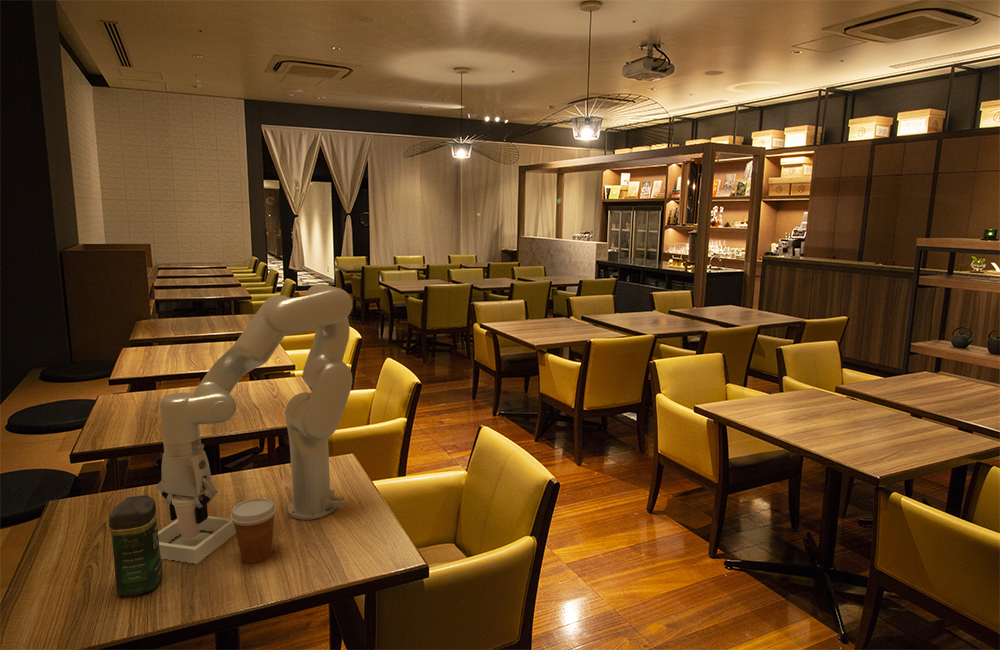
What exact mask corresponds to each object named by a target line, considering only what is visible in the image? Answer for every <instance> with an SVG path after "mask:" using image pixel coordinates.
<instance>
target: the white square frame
mask: <svg viewBox="0 0 1000 650" xmlns="http://www.w3.org/2000/svg"><path fill="white" fill-rule="evenodd" d="M203 530H205V532H211V531H213V532H212V533H211V534H210V536H209V537H207V538H206V539H205V540H203V541H202V542H201V543H199V544H198V545H197V546H195V547H192V546H184V545H177V544H172V543H170V542H171V541H172V539H173V540H174V539H176V538H177V537H178V536H180V535H181V531H180V527H179V523H178V519H175V520H174V521H172V522H171V523H169V524H168V525H166V526H165V527H163V528H161V529H160V530H158V538H159V547H160V555H161V560H164V559H168V560H167V561H171V560H175V561H174V562H178V561H180V563H185V562H187V563H186V564H192V563H194V564H193V565H198V564H199V563H201V562H202V561H203V560H204V559H205V558H207V557H208V556H209V555H211V553H213V552H214V551H215V550H217V549H218V548H219V547H220V546H222V545H224V543H226V542H227V541H228V540H229V539H231V538H232V537H233V536H234V535H236V530H235V526H234V522H233V521H232V519H231V518H229V517H221V516H220V517H219V516H212V515H211V516H210V515H208V518H207V519H206V520H204V521H203V522H202V523H200V529H199V531H203ZM179 534H180V535H179ZM176 536H177V537H176ZM175 537H176V538H175ZM206 556H207V557H206Z"/></svg>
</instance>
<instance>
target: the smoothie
mask: <svg viewBox="0 0 1000 650" xmlns="http://www.w3.org/2000/svg"><path fill="white" fill-rule="evenodd" d="M199 497H200V499H201V500H202V497H201V495H200V496H199ZM172 504H173V505H174V507H175V511H176V515H177V519H178V523H179V527H180V531H181V534H180V535H181V537H183V538H193V537H195V536H197V535H198V534H199V533H200V530H199V529H200V524H197V523H196V516H195V508H196V507H197V505H196V503H195V501H194V499H193V497H191V496H182V495H175V496H174V497H173V498H172ZM177 519H176V520H177Z"/></svg>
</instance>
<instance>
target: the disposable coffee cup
mask: <svg viewBox="0 0 1000 650" xmlns="http://www.w3.org/2000/svg"><path fill="white" fill-rule="evenodd" d="M231 511H232V512H231V513H230V519H232V521H233V522H234V526H235V530H236V534H235V535H236V539H237V543H238V548H239V552H240V556H241V560H242V561H243V562H244V563H247V564H255V563H260V562H263V561H265V560H267V559H269V558H270V557H271V555H272V550H273V536H274V533H273V532H274V524H275V523H274V520H275V515H276V511H277V507H276V505H275V504H274V501H273V500H271V499H268V498H263V497H262V498H261V497H260V498H250V499H247V500H244V501H241V502H238V503H237V504H236V505H234V507H233V508H232V510H231Z"/></svg>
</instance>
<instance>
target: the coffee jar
mask: <svg viewBox="0 0 1000 650" xmlns="http://www.w3.org/2000/svg"><path fill="white" fill-rule="evenodd" d="M108 520H109V524H108V525H109V531H110V535H111V536H110V537H111V543H112V553H113V555H112V556H113V561H114V562H113V563H114V575H115V577H114V578H115V579H114V580H115V588H116V590H115V591H116V593H117V595H118V596H123V597H124V596H125V597H135V596H140V595H143V594H144V593H147V592H151V591H153V590H154V589H155V588H156V587H157V585H158V584H159V582H160V580H161V578H162V575H163V564H162V559H161V555H160V547H159V538H158V532H159V530H158V512H157V505H156V500H155V499H154V498H153V497H151V496H150V495H147V494H144V495H136V496H135V495H134V496H127V497H126V498H125V499H123V500H122V501H120V502H119V503H117V505H116V506H115V507H114V508H113V509H112V511H111V512H110V514H109V516H108Z"/></svg>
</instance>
